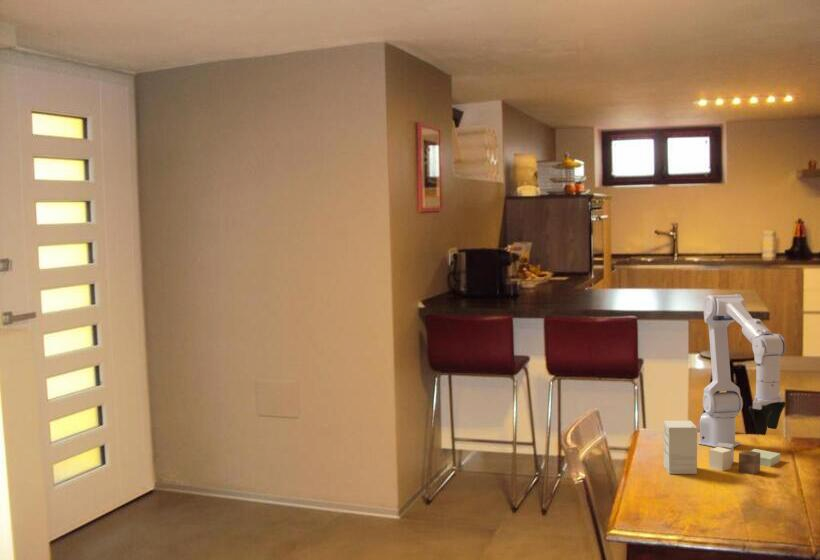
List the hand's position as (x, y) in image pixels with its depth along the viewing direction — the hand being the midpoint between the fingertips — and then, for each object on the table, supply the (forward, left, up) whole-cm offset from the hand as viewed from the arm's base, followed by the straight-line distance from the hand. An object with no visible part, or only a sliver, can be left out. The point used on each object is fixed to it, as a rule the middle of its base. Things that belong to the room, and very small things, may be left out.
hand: (766, 431), depth 227 cm
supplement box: (-17, -15, -11) cm, 25 cm away
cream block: (-10, -6, -10) cm, 15 cm away
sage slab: (-4, +7, -11) cm, 13 cm away
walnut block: (-3, -4, -10) cm, 12 cm away
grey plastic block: (-11, -1, -10) cm, 15 cm away
